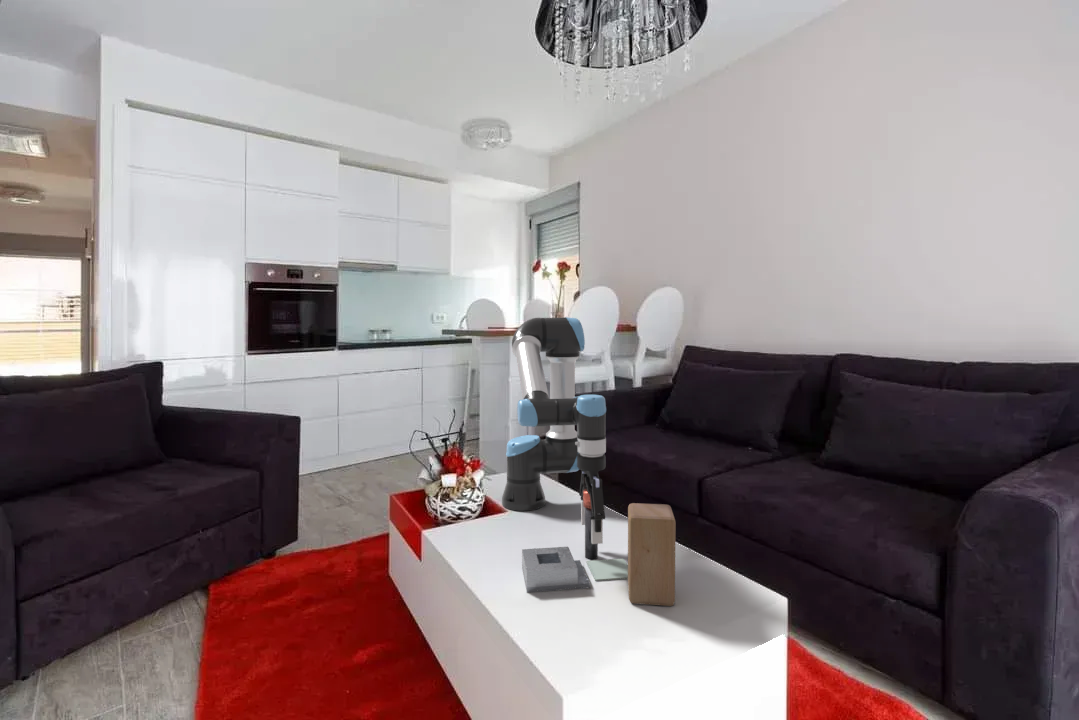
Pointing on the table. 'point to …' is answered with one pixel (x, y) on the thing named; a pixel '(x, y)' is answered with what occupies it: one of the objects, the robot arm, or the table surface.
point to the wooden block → (651, 554)
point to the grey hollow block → (552, 570)
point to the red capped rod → (589, 529)
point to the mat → (608, 569)
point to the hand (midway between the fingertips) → (591, 533)
